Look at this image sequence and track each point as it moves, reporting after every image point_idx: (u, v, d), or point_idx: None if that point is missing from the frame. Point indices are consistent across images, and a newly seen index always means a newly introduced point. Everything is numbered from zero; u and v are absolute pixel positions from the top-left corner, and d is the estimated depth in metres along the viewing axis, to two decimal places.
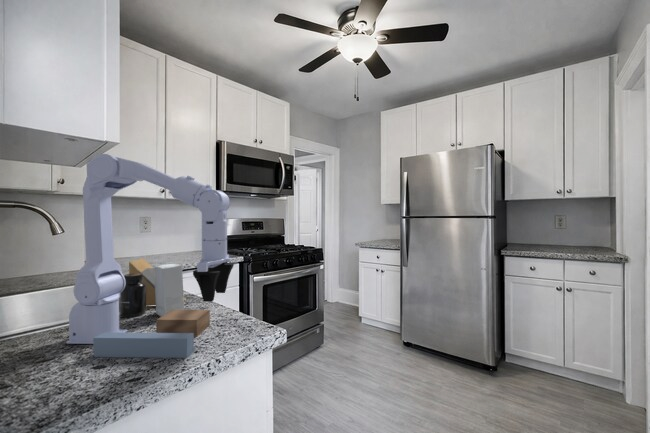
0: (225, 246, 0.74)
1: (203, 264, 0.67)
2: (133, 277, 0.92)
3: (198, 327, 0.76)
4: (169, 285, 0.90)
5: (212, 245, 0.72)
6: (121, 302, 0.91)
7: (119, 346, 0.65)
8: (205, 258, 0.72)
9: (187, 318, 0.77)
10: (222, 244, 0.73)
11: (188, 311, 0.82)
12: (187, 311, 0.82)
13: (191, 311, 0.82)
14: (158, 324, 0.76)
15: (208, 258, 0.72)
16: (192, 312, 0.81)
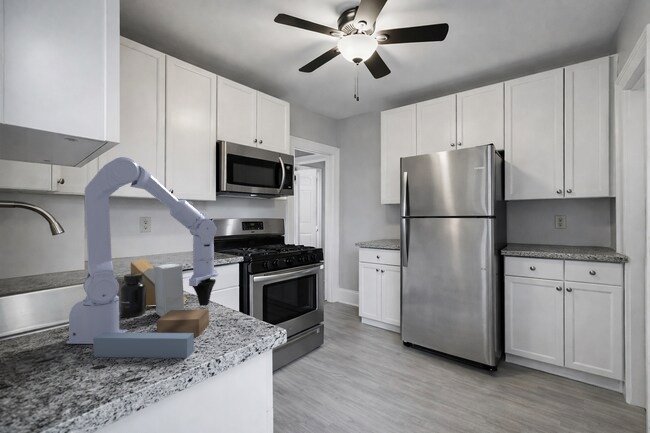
0: (212, 264, 0.91)
1: (194, 280, 0.85)
2: (133, 277, 0.92)
3: (200, 326, 0.77)
4: (169, 285, 0.90)
5: (201, 264, 0.89)
6: (121, 302, 0.91)
7: (119, 346, 0.65)
8: (196, 274, 0.89)
9: (188, 318, 0.77)
10: (209, 263, 0.90)
11: (187, 311, 0.82)
12: (186, 311, 0.82)
13: (190, 311, 0.82)
14: (159, 325, 0.76)
15: (198, 274, 0.89)
16: (192, 312, 0.82)
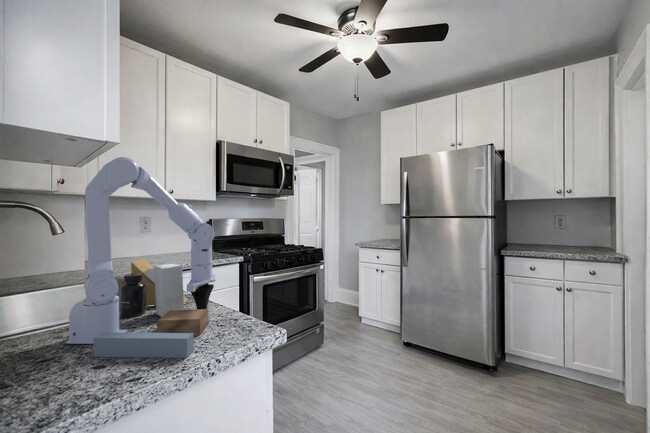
0: (210, 269, 0.90)
1: (191, 285, 0.83)
2: (133, 277, 0.92)
3: (200, 326, 0.77)
4: (169, 285, 0.90)
5: (199, 269, 0.88)
6: (121, 302, 0.91)
7: (119, 346, 0.65)
8: (193, 279, 0.88)
9: (189, 318, 0.77)
10: (208, 268, 0.89)
11: (187, 311, 0.82)
12: (186, 311, 0.82)
13: (190, 311, 0.82)
14: (159, 325, 0.75)
15: (196, 279, 0.88)
16: (191, 312, 0.82)
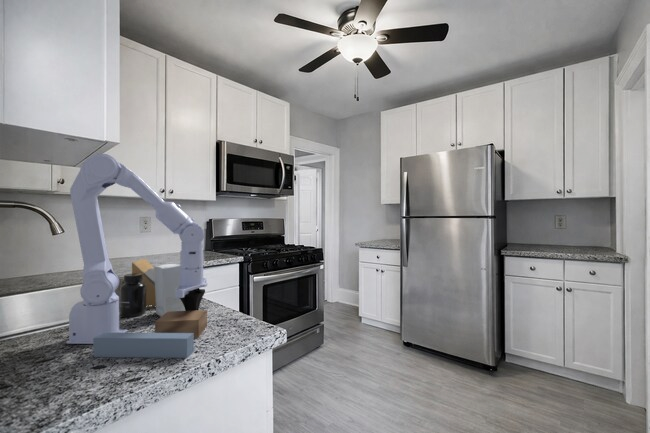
0: (201, 273, 0.84)
1: (180, 291, 0.77)
2: (133, 277, 0.92)
3: (199, 327, 0.76)
4: (169, 285, 0.90)
5: (189, 273, 0.82)
6: (121, 302, 0.91)
7: (119, 346, 0.65)
8: (183, 284, 0.82)
9: (188, 319, 0.76)
10: (198, 272, 0.83)
11: (185, 312, 0.81)
12: (184, 312, 0.81)
13: (188, 312, 0.81)
14: (157, 326, 0.74)
15: (185, 284, 0.81)
16: (190, 313, 0.81)
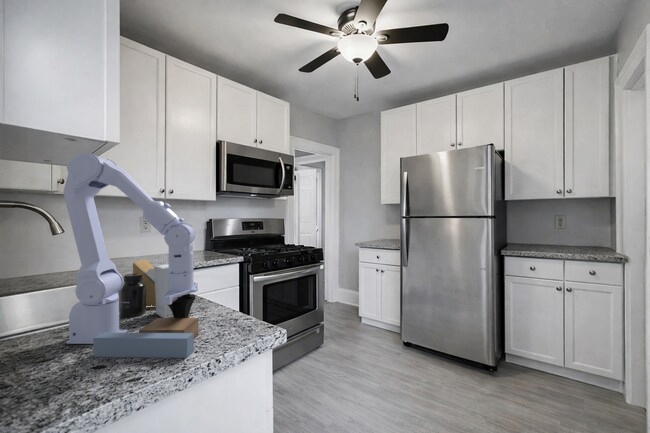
0: (191, 277, 0.78)
1: (167, 297, 0.71)
2: (133, 277, 0.92)
3: None
4: None
5: (177, 277, 0.76)
6: (121, 302, 0.91)
7: (119, 346, 0.65)
8: (171, 290, 0.76)
9: (173, 328, 0.70)
10: (188, 276, 0.77)
11: (175, 320, 0.75)
12: (173, 320, 0.75)
13: (178, 320, 0.76)
14: None
15: (174, 290, 0.76)
16: (179, 321, 0.75)
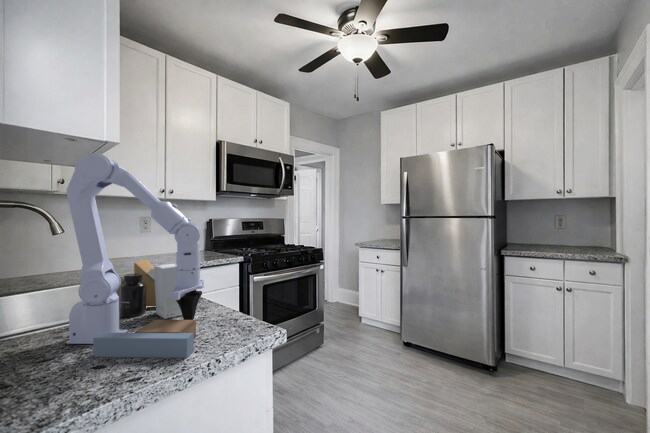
0: (198, 274, 0.82)
1: (175, 293, 0.75)
2: (133, 277, 0.92)
3: None
4: (169, 285, 0.90)
5: (185, 274, 0.79)
6: (121, 302, 0.91)
7: (119, 346, 0.65)
8: (179, 286, 0.80)
9: (169, 330, 0.69)
10: (195, 273, 0.81)
11: (172, 321, 0.74)
12: (171, 321, 0.74)
13: (175, 321, 0.74)
14: None
15: (182, 286, 0.79)
16: (176, 323, 0.73)
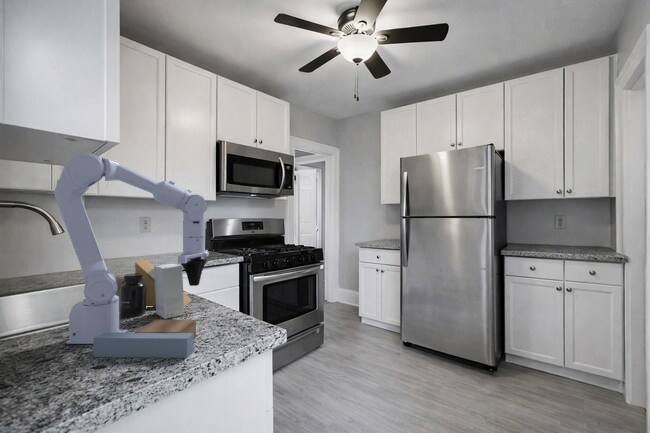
0: (203, 242, 0.87)
1: (182, 257, 0.81)
2: (133, 277, 0.92)
3: None
4: (169, 285, 0.90)
5: (191, 241, 0.85)
6: (121, 302, 0.91)
7: (119, 346, 0.65)
8: (185, 252, 0.85)
9: (169, 330, 0.69)
10: (200, 241, 0.86)
11: (172, 321, 0.74)
12: (171, 321, 0.74)
13: (175, 321, 0.74)
14: None
15: (188, 252, 0.85)
16: (176, 323, 0.73)
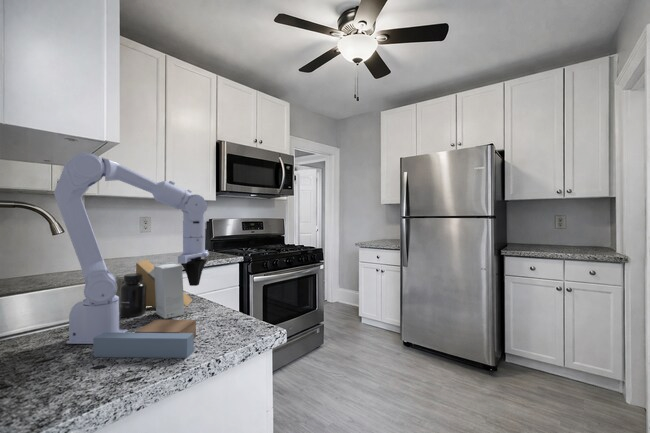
0: (203, 242, 0.87)
1: (182, 257, 0.81)
2: (133, 277, 0.92)
3: None
4: (169, 285, 0.90)
5: (191, 241, 0.85)
6: (121, 302, 0.91)
7: (119, 346, 0.65)
8: (185, 252, 0.85)
9: (169, 330, 0.69)
10: (200, 241, 0.86)
11: (172, 321, 0.74)
12: (171, 321, 0.74)
13: (175, 321, 0.74)
14: None
15: (188, 252, 0.85)
16: (176, 323, 0.73)
